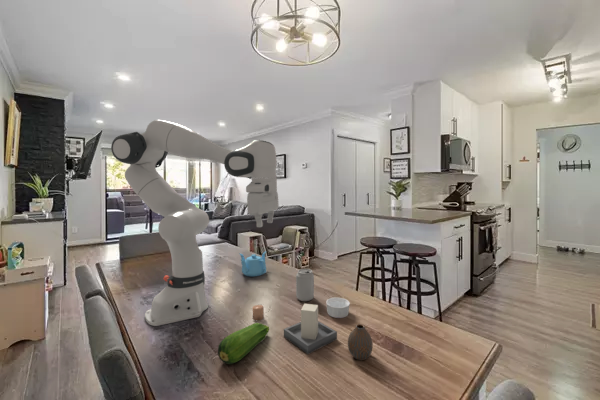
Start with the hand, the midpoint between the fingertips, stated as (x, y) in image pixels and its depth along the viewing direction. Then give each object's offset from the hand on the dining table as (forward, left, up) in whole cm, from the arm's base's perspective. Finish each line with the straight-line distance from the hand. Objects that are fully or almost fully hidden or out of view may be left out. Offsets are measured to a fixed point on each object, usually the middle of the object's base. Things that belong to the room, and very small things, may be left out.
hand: (265, 224), depth 102 cm
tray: (+3, -21, -34) cm, 40 cm away
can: (+21, +3, -34) cm, 40 cm away
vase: (+8, -37, -34) cm, 51 cm away
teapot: (+20, +46, -34) cm, 61 cm away
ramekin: (+22, -15, -34) cm, 44 cm away
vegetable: (-15, -13, -34) cm, 40 cm away
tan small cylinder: (-3, +1, -34) cm, 34 cm away
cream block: (+3, -21, -33) cm, 39 cm away
